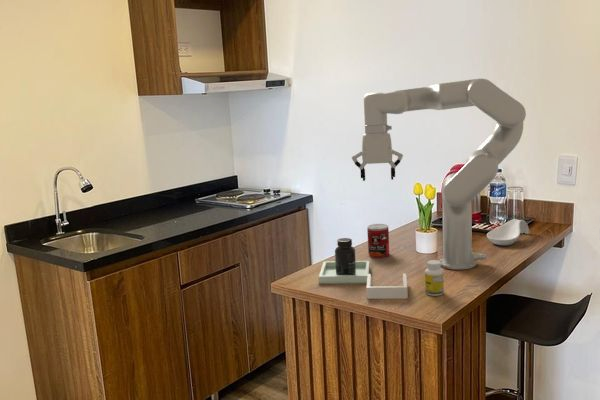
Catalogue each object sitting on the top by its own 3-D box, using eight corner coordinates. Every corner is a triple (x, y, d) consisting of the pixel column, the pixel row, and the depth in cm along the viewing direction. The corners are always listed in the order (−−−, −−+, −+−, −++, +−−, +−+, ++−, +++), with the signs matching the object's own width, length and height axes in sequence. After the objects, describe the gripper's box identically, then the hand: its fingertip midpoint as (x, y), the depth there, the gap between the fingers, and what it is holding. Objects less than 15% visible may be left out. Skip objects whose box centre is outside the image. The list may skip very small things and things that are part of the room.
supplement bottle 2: (423, 290, 176) (422, 260, 175) (440, 289, 177) (439, 258, 175) (428, 297, 171) (427, 265, 169) (446, 295, 172) (445, 263, 170)
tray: (369, 267, 202) (369, 260, 201) (368, 283, 186) (367, 275, 186) (324, 268, 204) (323, 261, 204) (319, 283, 189) (318, 276, 188)
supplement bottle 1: (355, 277, 191) (353, 242, 189) (334, 277, 192) (332, 242, 190) (357, 270, 197) (355, 236, 195) (337, 270, 199) (335, 237, 197)
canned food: (366, 257, 213) (364, 228, 211) (371, 251, 221) (370, 223, 219) (386, 258, 211) (385, 229, 208) (391, 252, 218) (390, 223, 216)
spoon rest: (510, 250, 212) (511, 231, 210) (481, 245, 220) (481, 227, 218) (537, 235, 228) (538, 217, 227) (509, 231, 236) (509, 214, 235)
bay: (406, 283, 183) (405, 273, 183) (407, 298, 171) (407, 287, 170) (368, 284, 185) (367, 273, 184) (366, 298, 173) (366, 287, 172)
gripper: (401, 127, 198) (403, 176, 201) (351, 130, 200) (353, 178, 204) (402, 129, 191) (403, 180, 194) (349, 132, 193) (352, 182, 197)
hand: (378, 179), depth 199 cm, fingers open, 9 cm apart
